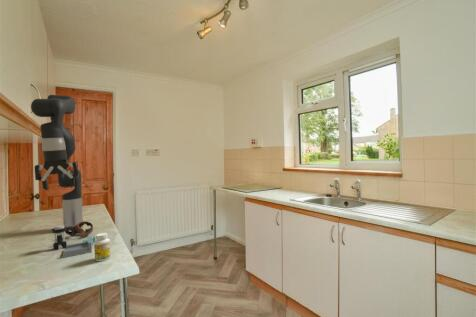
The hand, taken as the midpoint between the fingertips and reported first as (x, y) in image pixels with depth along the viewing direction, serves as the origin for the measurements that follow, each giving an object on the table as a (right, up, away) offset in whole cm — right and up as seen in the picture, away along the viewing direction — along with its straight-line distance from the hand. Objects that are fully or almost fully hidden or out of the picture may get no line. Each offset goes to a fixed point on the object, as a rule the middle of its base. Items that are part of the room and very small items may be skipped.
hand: (59, 188), depth 99 cm
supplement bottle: (+21, -27, -5) cm, 35 cm away
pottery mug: (-8, -28, +24) cm, 38 cm away
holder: (+5, -27, +4) cm, 28 cm away
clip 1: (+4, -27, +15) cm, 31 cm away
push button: (-6, -28, +7) cm, 30 cm away
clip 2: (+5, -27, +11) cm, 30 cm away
